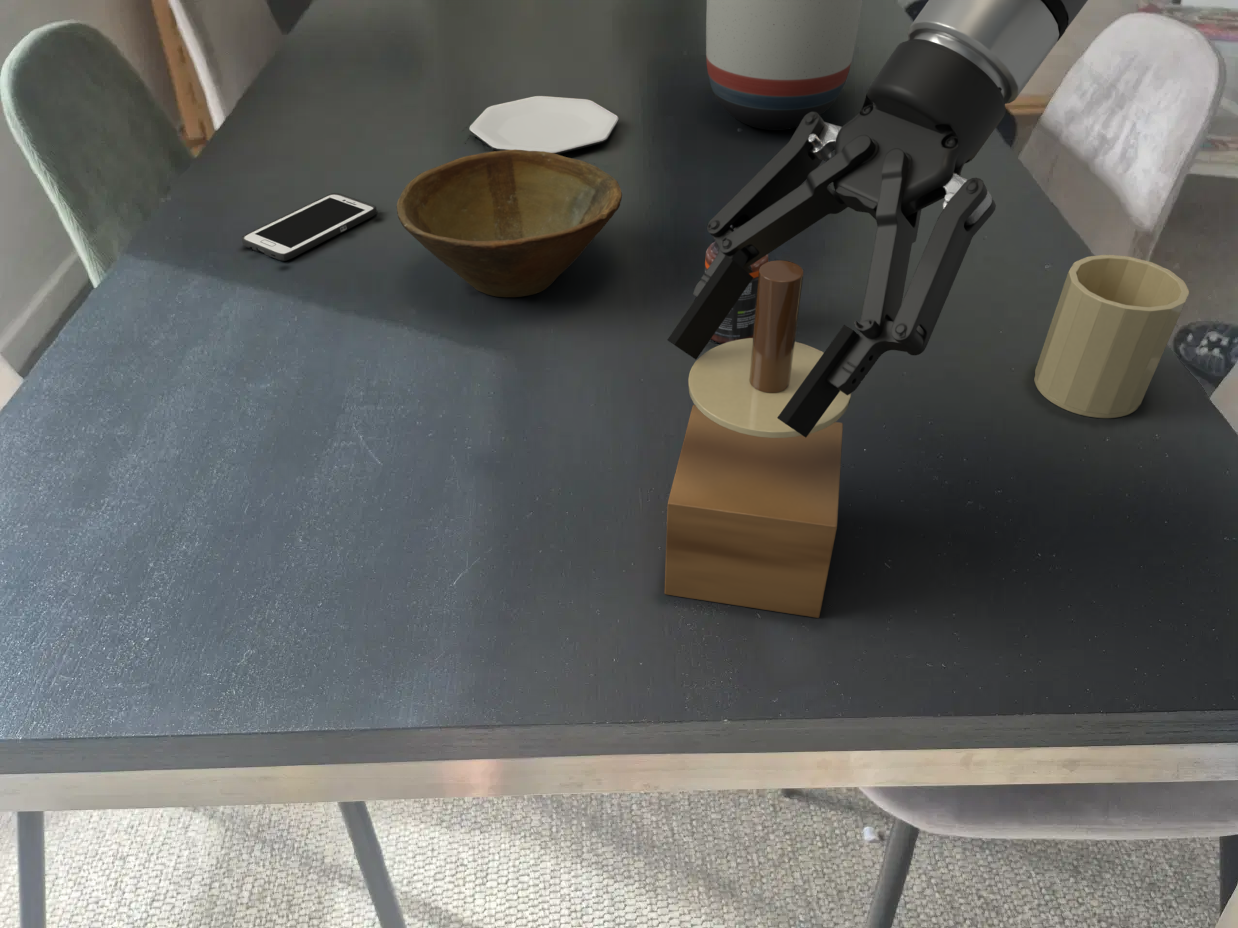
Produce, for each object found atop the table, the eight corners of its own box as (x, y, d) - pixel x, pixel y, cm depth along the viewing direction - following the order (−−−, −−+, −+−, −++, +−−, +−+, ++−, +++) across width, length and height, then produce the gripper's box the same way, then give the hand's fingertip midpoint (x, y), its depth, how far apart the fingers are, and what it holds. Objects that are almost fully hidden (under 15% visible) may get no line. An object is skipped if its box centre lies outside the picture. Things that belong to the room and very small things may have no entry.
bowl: (642, 318, 96) (643, 227, 90) (415, 345, 93) (399, 253, 86) (601, 222, 113) (599, 140, 106) (406, 242, 109) (392, 158, 103)
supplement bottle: (729, 309, 98) (737, 206, 90) (774, 332, 94) (785, 227, 87) (688, 330, 95) (693, 226, 87) (733, 355, 91) (742, 248, 84)
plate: (628, 112, 139) (628, 102, 138) (595, 167, 125) (595, 155, 124) (500, 102, 143) (500, 92, 142) (454, 154, 128) (453, 143, 127)
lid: (848, 447, 57) (870, 326, 51) (676, 427, 58) (679, 307, 53) (852, 352, 64) (872, 237, 59) (700, 336, 66) (706, 223, 60)
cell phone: (239, 245, 109) (237, 237, 108) (336, 198, 118) (334, 191, 117) (284, 264, 105) (282, 256, 105) (380, 214, 114) (379, 206, 114)
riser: (819, 618, 66) (837, 526, 60) (664, 594, 68) (667, 503, 62) (826, 512, 74) (843, 422, 69) (688, 493, 76) (692, 404, 70)
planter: (769, 87, 147) (783, -69, 133) (874, 124, 135) (901, -42, 121) (671, 119, 137) (676, -45, 123) (775, 163, 125) (792, -14, 111)
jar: (1151, 424, 83) (1200, 315, 75) (1040, 411, 84) (1078, 303, 77) (1131, 365, 89) (1174, 260, 82) (1028, 354, 91) (1062, 250, 84)
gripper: (1140, 168, 52) (892, 498, 55) (842, 63, 66) (657, 332, 69) (1116, 89, 46) (840, 463, 49) (794, -8, 60) (595, 289, 63)
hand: (733, 386), depth 59 cm, fingers closed on lid, 10 cm apart
